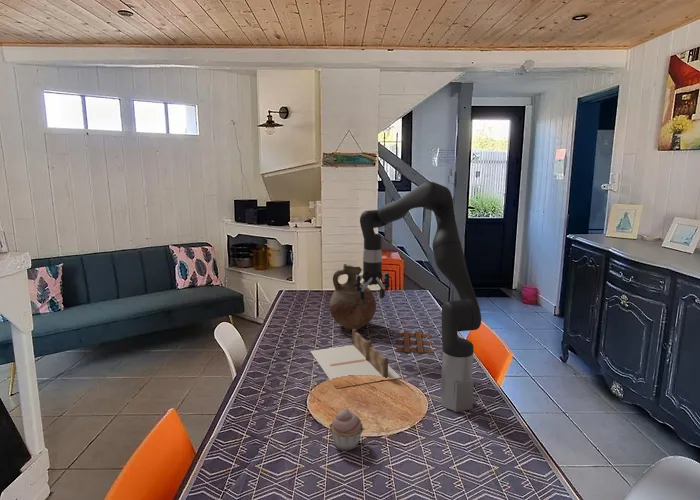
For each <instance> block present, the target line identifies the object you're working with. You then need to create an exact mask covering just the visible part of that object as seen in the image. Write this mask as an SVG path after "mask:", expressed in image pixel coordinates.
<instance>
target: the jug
mask: <svg viewBox="0 0 700 500" xmlns="http://www.w3.org/2000/svg"><path fill="white" fill-rule="evenodd" d="M362 271H363V268H361V267H360V266H353V265H350V264H348V265H347V264H346V263H344V264H343V269H338V270H336V271H335V272H334V274H333V275H332V282H333V287H334V290H333V293H332V295H331V297H330V300H329V307H328V308H329V312H330V315H331V317H332V319H333V320H334V321H335V322H336V323H337V324H338V325H340V326H342V328H343V329H347V330H352V329H357V330H359V329H362V328H364V327H365V326H366V325H368V324H369V323H370V322H371V321H372V320H373V318H374V316H375V314H376V310H377V301H376V299H375V296H374V293H373V292H372V290H371V289H370V288H369V286H367V287H366V288H365V290H364V300H361V299H360V298H359V290H356V289H355V276H356V275H360V274H361V273H362ZM343 275H347V279H346V282H344V283H340V282H339V277H340V276H343ZM361 285H362V282H360V286H361Z"/></svg>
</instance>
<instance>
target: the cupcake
mask: <svg viewBox="0 0 700 500" xmlns="http://www.w3.org/2000/svg"><path fill="white" fill-rule="evenodd" d="M336 414H337V415H336V416H334V418H332V421H331V422H332V423H330V424H329V426H328V427H329V432H330V435H332V440H333V443H334V446H335V447H336V448H337V449H338V450H343V451H350V450H354V449H355V448H357V446H358V445H359V442H360V438H361V435H362V434H363V433H362V432H363V431H364V430H365V429H364V427H363V426H364V424H363V423H362V421H361V419H360V417H359V416H358V415H357V414H356V413H354V412H353V411H351V410H349V409H348V407H346V408H344V409H341V410H340V411H338V413H336Z"/></svg>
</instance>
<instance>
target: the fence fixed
mask: <svg viewBox="0 0 700 500" xmlns="http://www.w3.org/2000/svg"><path fill="white" fill-rule="evenodd" d="M366 361H369V362H370V363H371V364H372V365H373V366H374V367H375V368H376V369H377V370H378V371H379V372H380V373H381V374H382V375H383V377H385V378H387V377H388V365H389V357H387V356H385V357H384V356H383V355H382V353H380V352H379V351H378V350H377V349H376V348H375V347H374V346H373V341H372V340H366Z"/></svg>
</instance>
